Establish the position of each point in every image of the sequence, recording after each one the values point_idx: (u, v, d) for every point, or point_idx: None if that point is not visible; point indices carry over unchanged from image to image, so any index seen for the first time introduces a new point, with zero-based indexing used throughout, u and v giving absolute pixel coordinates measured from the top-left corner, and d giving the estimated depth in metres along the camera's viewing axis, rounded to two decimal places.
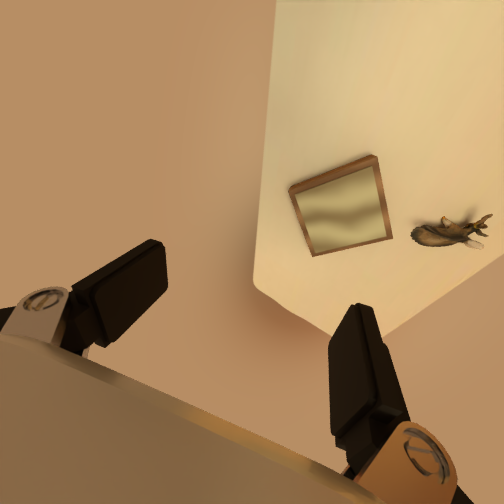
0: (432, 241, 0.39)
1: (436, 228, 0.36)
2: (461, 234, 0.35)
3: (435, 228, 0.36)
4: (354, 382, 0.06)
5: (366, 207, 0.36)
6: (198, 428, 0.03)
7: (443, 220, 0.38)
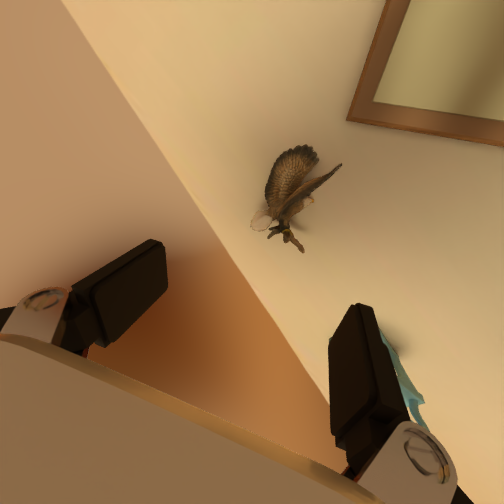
0: (285, 172, 0.21)
1: None
2: (285, 213, 0.21)
3: None
4: (354, 381, 0.06)
5: None
6: (198, 428, 0.03)
7: (310, 199, 0.22)
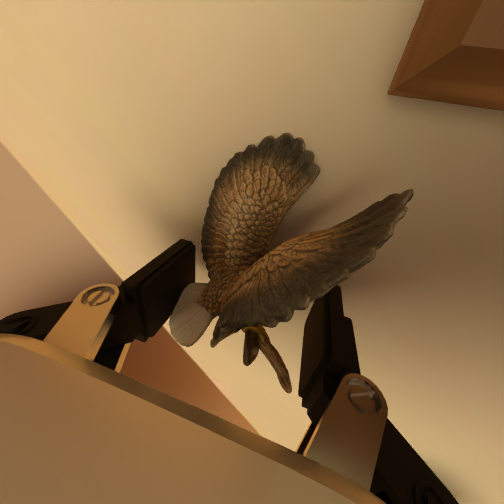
0: (236, 204, 0.08)
1: None
2: None
3: None
4: (316, 346, 0.07)
5: None
6: (198, 428, 0.03)
7: None
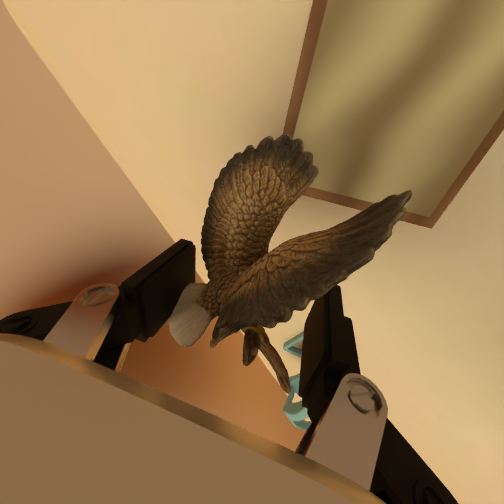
0: (235, 204, 0.08)
1: None
2: None
3: None
4: (316, 346, 0.07)
5: (362, 173, 0.17)
6: (198, 428, 0.03)
7: None
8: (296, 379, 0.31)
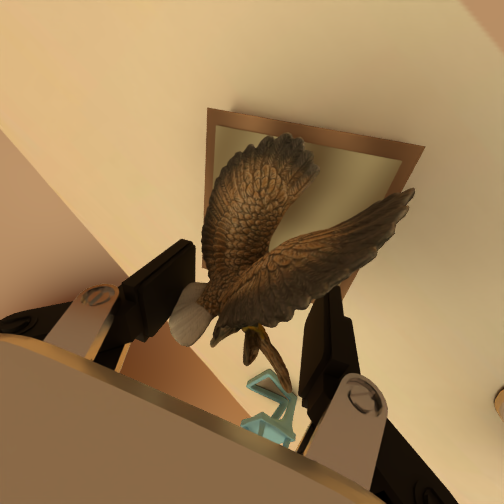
0: (236, 203, 0.08)
1: None
2: None
3: None
4: (316, 346, 0.07)
5: None
6: (198, 428, 0.03)
7: None
8: (249, 422, 0.33)
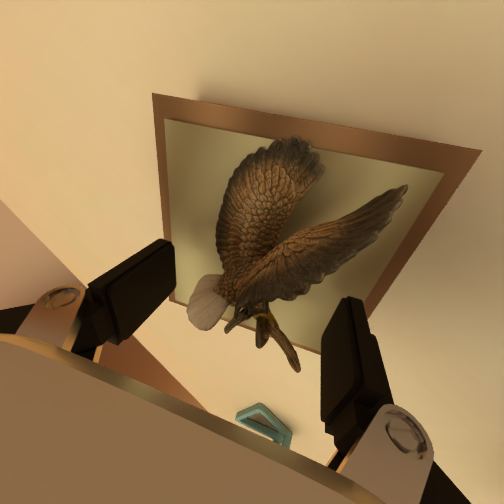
0: (249, 200, 0.09)
1: None
2: None
3: None
4: (342, 369, 0.07)
5: None
6: (198, 428, 0.03)
7: None
8: None
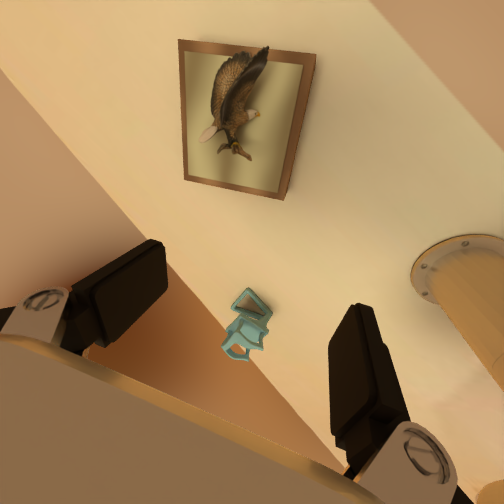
0: (224, 78, 0.21)
1: (252, 84, 0.20)
2: (229, 120, 0.21)
3: (252, 81, 0.19)
4: (354, 381, 0.06)
5: (232, 167, 0.27)
6: (198, 428, 0.03)
7: (255, 110, 0.23)
8: (232, 325, 0.41)
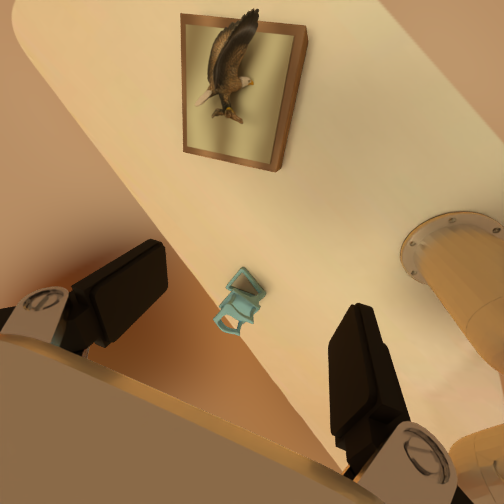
0: (220, 45, 0.23)
1: (244, 48, 0.21)
2: (223, 84, 0.23)
3: (244, 45, 0.21)
4: (354, 381, 0.06)
5: (228, 138, 0.29)
6: (198, 428, 0.03)
7: None
8: (225, 300, 0.42)
